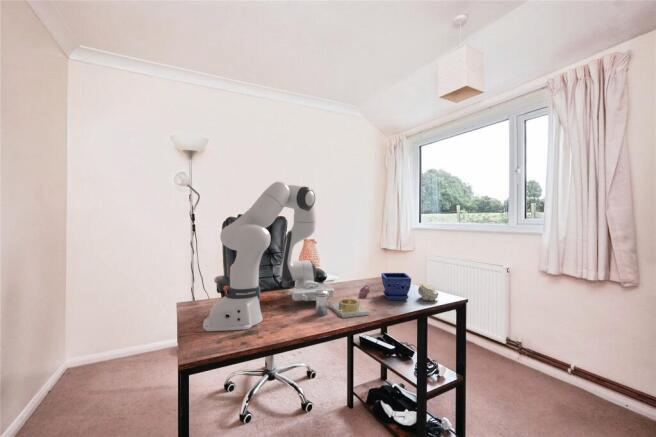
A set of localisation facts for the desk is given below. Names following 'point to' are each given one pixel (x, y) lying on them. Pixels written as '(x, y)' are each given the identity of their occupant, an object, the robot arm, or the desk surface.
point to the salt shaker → (321, 302)
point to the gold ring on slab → (349, 308)
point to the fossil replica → (427, 292)
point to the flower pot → (396, 285)
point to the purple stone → (364, 290)
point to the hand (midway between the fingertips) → (317, 298)
